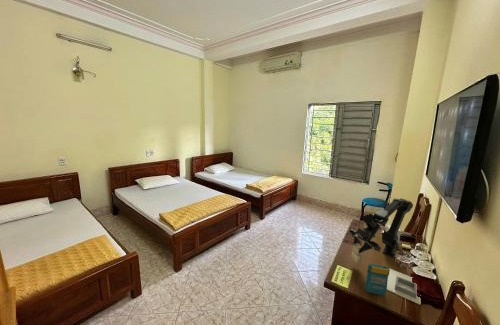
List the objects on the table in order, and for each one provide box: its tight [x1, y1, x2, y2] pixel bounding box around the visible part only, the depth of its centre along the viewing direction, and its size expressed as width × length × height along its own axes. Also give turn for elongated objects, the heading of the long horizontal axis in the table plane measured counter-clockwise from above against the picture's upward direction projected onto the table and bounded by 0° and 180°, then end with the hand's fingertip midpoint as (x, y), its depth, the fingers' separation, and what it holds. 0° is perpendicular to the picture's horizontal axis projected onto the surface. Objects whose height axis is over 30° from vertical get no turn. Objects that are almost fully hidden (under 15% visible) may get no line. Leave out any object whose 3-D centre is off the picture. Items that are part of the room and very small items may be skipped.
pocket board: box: [386, 268, 422, 305], centre depth 116 cm, size 20×15×3 cm
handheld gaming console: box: [364, 263, 391, 297], centre depth 109 cm, size 10×4×15 cm, turn 76°
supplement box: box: [385, 224, 402, 244], centre depth 155 cm, size 7×7×13 cm
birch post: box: [350, 243, 363, 264], centre depth 128 cm, size 4×4×10 cm
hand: (355, 250), depth 127 cm, fingers closed on birch post, 4 cm apart
